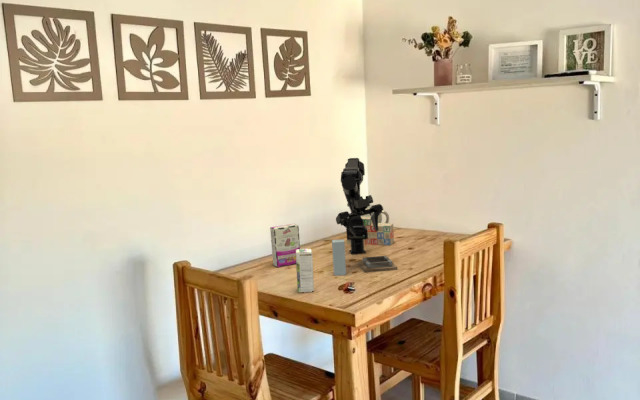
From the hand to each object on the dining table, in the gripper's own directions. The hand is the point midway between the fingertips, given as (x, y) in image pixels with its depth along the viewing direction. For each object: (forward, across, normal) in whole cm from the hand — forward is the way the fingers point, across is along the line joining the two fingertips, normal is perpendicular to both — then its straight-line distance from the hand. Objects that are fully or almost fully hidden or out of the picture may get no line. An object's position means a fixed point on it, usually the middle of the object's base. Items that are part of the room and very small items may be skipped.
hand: (366, 233), depth 227 cm
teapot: (-17, +30, +61) cm, 70 cm away
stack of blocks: (-8, +19, +44) cm, 48 cm away
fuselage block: (+11, -13, +7) cm, 19 cm away
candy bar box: (-3, -27, +28) cm, 39 cm away
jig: (+12, +3, +9) cm, 15 cm away
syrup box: (+16, -32, -4) cm, 36 cm away
